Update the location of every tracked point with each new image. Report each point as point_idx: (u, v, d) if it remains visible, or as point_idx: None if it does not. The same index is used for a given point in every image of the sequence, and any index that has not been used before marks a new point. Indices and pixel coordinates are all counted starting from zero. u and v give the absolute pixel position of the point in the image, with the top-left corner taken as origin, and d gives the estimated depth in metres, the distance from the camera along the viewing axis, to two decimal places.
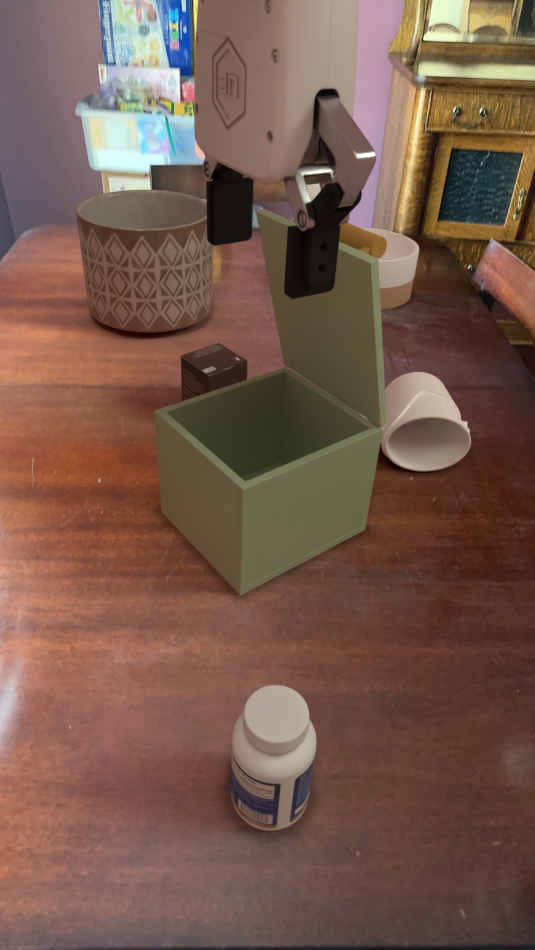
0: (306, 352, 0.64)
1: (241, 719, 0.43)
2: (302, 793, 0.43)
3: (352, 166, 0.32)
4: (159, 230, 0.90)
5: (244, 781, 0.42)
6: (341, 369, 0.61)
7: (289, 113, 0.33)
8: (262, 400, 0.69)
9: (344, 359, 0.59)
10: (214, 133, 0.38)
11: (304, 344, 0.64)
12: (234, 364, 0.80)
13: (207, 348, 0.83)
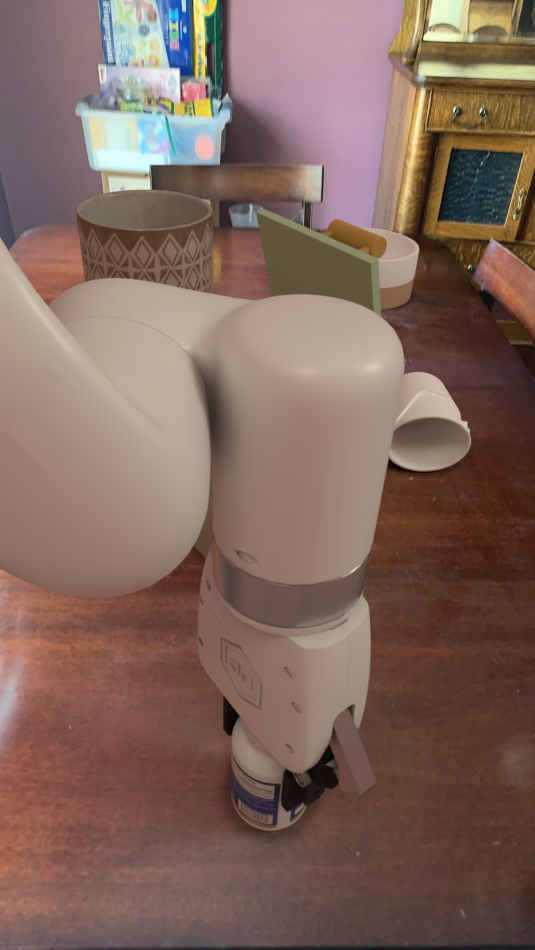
0: None
1: (241, 719, 0.43)
2: None
3: (354, 793, 0.35)
4: (159, 230, 0.90)
5: (244, 781, 0.42)
6: None
7: (310, 742, 0.33)
8: None
9: None
10: (223, 681, 0.38)
11: None
12: None
13: None
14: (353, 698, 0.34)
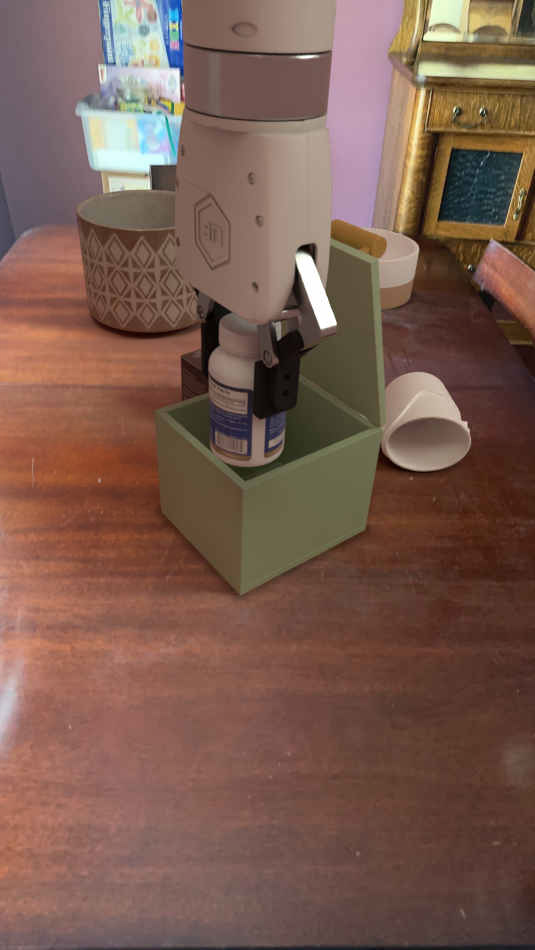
0: None
1: (218, 346, 0.45)
2: (275, 419, 0.45)
3: (316, 336, 0.37)
4: (159, 230, 0.90)
5: (219, 397, 0.44)
6: (341, 369, 0.61)
7: (274, 269, 0.36)
8: None
9: (344, 359, 0.59)
10: (197, 269, 0.41)
11: None
12: None
13: None
14: (315, 234, 0.36)
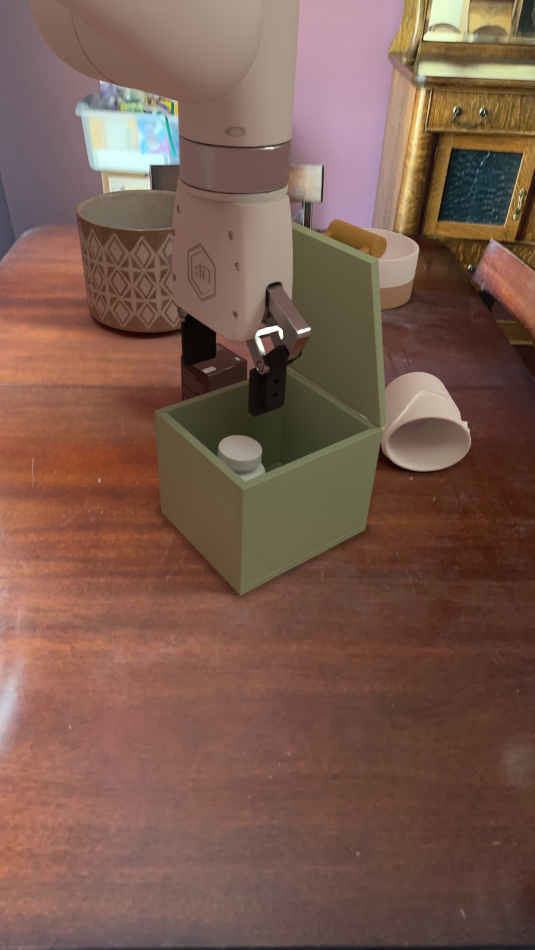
0: (306, 352, 0.64)
1: None
2: None
3: (295, 339, 0.46)
4: (159, 230, 0.90)
5: None
6: (341, 369, 0.61)
7: (249, 302, 0.47)
8: None
9: (344, 359, 0.59)
10: (190, 299, 0.52)
11: None
12: (234, 364, 0.80)
13: None
14: (280, 275, 0.47)
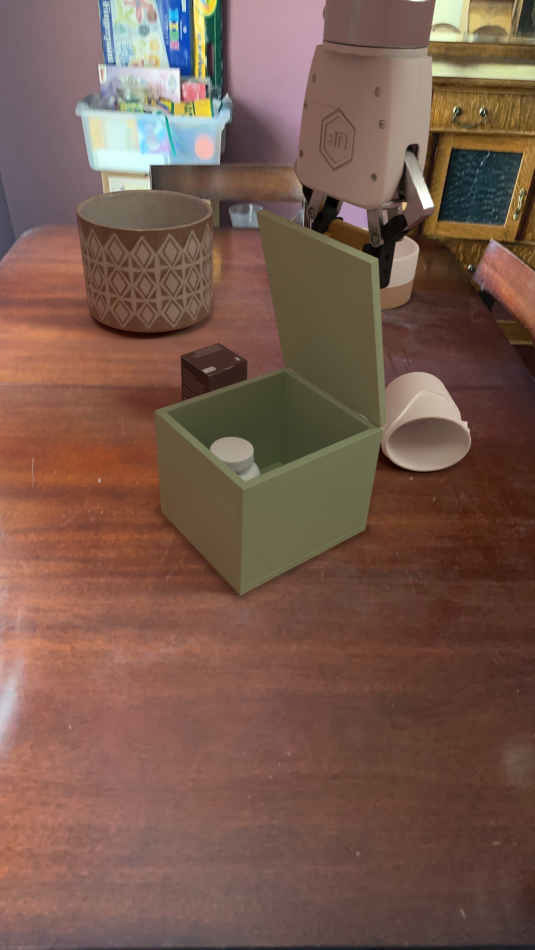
0: (306, 352, 0.64)
1: None
2: None
3: (419, 215, 0.49)
4: (159, 230, 0.90)
5: None
6: (341, 369, 0.61)
7: (390, 162, 0.48)
8: (262, 400, 0.69)
9: (344, 359, 0.59)
10: (319, 172, 0.53)
11: (304, 344, 0.64)
12: (234, 364, 0.80)
13: (207, 348, 0.83)
14: (419, 137, 0.48)
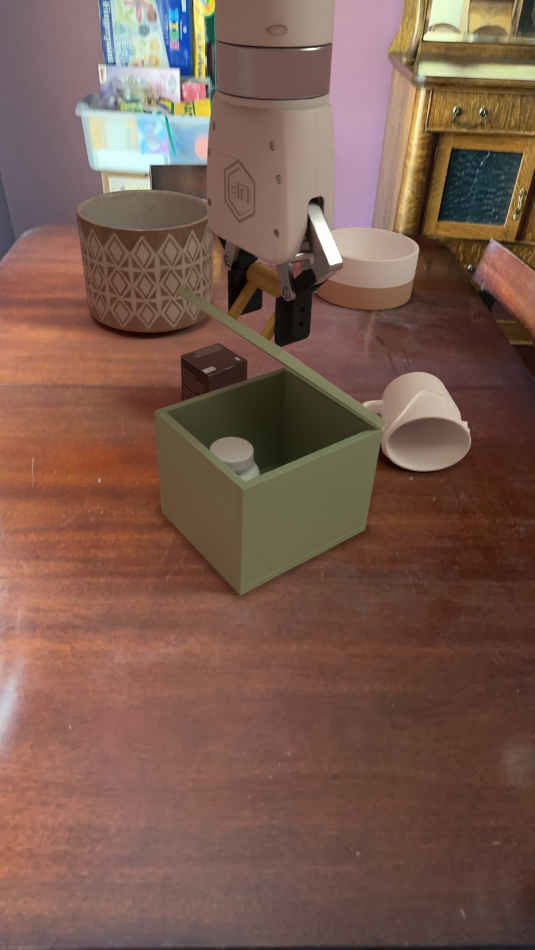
0: None
1: None
2: None
3: (326, 271, 0.47)
4: (159, 230, 0.90)
5: None
6: None
7: (291, 217, 0.45)
8: (262, 400, 0.69)
9: None
10: (226, 223, 0.50)
11: None
12: (234, 364, 0.80)
13: (207, 348, 0.83)
14: (322, 189, 0.46)
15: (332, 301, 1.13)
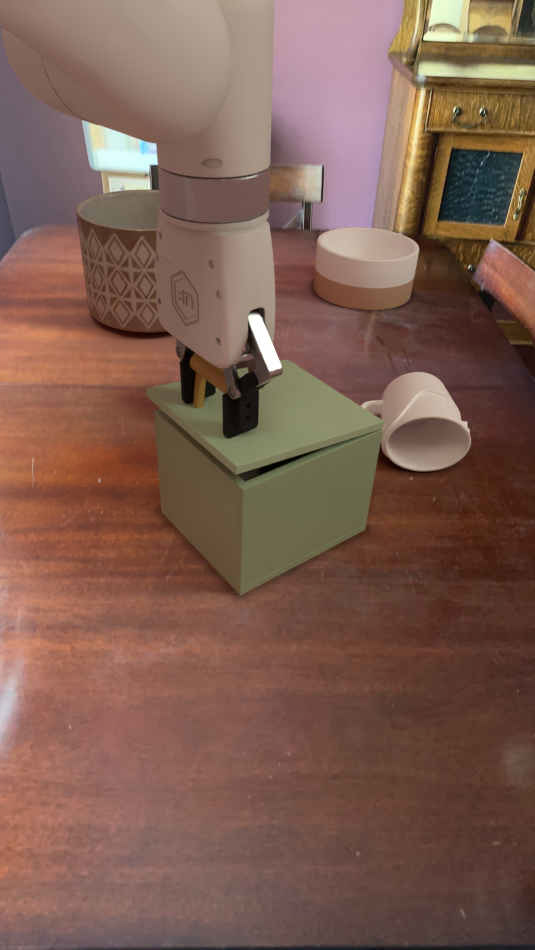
0: None
1: None
2: None
3: (266, 377, 0.48)
4: None
5: None
6: None
7: (231, 328, 0.47)
8: None
9: None
10: (175, 323, 0.52)
11: None
12: None
13: None
14: (262, 301, 0.47)
15: (332, 301, 1.13)
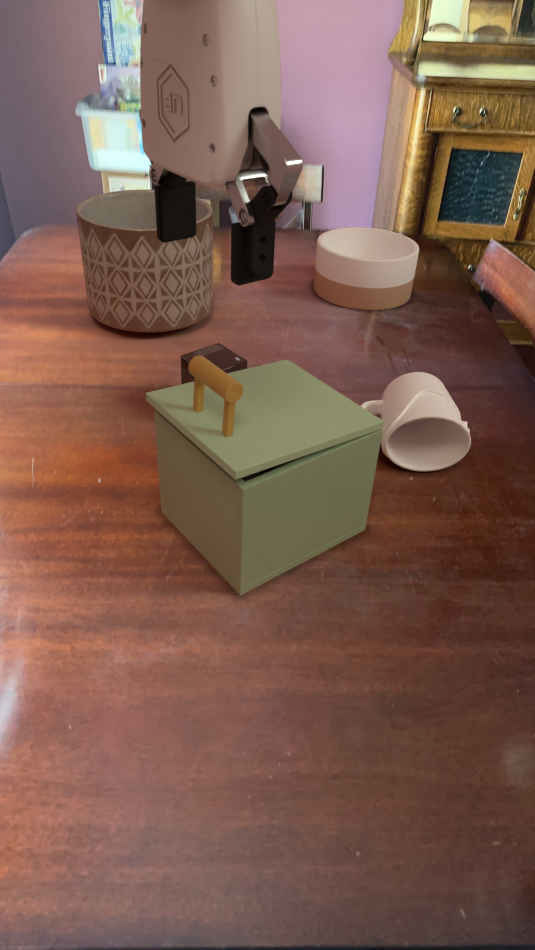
0: None
1: None
2: None
3: (283, 171, 0.39)
4: None
5: None
6: None
7: (228, 128, 0.39)
8: None
9: None
10: (161, 145, 0.44)
11: None
12: (234, 364, 0.80)
13: (207, 348, 0.83)
14: (266, 98, 0.40)
15: (332, 301, 1.13)
